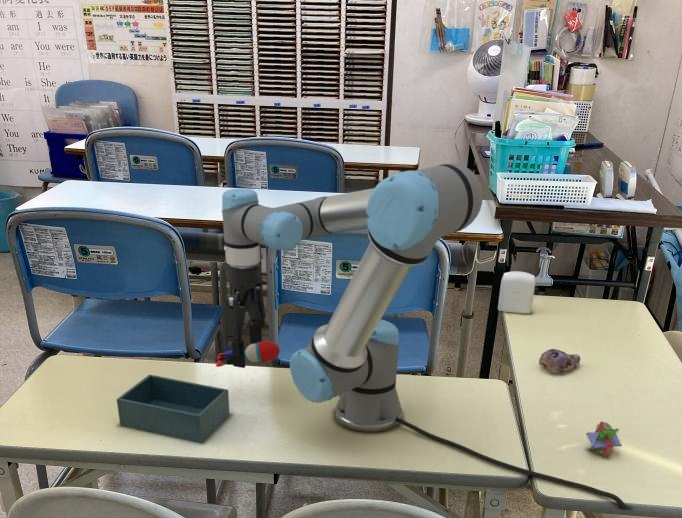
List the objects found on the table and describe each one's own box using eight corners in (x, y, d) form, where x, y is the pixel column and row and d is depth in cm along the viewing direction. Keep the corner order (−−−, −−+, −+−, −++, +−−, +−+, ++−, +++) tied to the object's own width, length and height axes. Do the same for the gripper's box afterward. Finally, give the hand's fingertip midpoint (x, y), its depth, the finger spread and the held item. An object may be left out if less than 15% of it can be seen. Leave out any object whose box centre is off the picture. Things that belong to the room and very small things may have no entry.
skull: (572, 358, 207) (577, 338, 203) (587, 373, 201) (592, 354, 197) (532, 364, 204) (536, 345, 200) (546, 380, 198) (551, 360, 194)
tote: (229, 415, 176) (228, 389, 172) (201, 443, 165) (199, 416, 162) (152, 399, 181) (149, 374, 178) (120, 425, 171) (116, 399, 167)
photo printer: (496, 311, 236) (502, 272, 229) (497, 306, 239) (503, 268, 233) (530, 315, 234) (537, 276, 227) (531, 310, 238) (537, 271, 231)
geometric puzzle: (629, 454, 162) (625, 417, 162) (600, 457, 160) (595, 420, 161) (612, 458, 169) (607, 422, 169) (583, 460, 168) (579, 424, 168)
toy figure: (217, 374, 177) (281, 364, 176) (212, 354, 175) (276, 344, 174) (221, 363, 184) (282, 353, 183) (216, 344, 181) (278, 333, 181)
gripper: (248, 248, 177) (253, 339, 189) (204, 276, 160) (212, 374, 172) (278, 252, 175) (280, 344, 187) (236, 280, 158) (242, 379, 170)
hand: (248, 358), depth 179 cm, fingers closed on toy figure, 8 cm apart
